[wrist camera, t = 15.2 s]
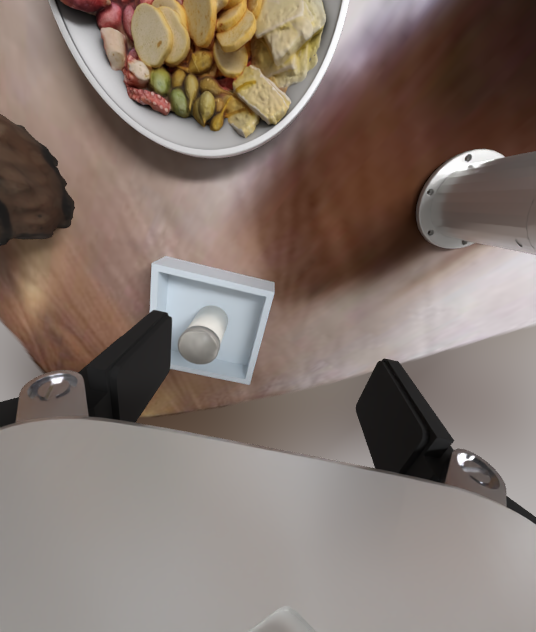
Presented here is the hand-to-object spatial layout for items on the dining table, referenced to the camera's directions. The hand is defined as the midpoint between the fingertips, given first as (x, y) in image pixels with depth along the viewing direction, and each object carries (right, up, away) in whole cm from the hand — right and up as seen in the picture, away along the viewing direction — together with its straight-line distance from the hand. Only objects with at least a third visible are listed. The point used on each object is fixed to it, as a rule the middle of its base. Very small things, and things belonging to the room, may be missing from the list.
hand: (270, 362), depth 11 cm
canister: (-10, +1, +32) cm, 33 cm away
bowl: (-7, +37, +17) cm, 41 cm away
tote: (-10, +2, +33) cm, 34 cm away
